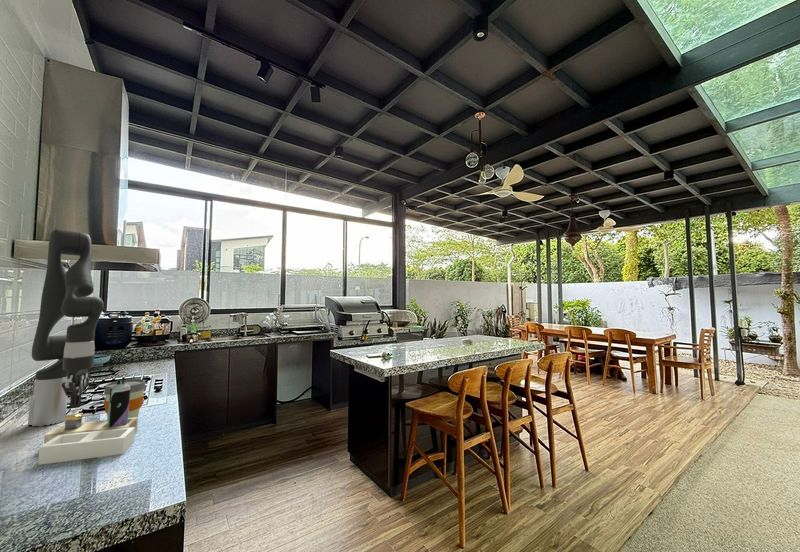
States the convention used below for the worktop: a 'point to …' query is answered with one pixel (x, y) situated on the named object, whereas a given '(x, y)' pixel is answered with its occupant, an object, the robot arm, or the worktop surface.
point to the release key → (73, 421)
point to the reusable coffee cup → (135, 396)
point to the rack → (86, 445)
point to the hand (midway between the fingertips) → (75, 406)
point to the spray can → (119, 404)
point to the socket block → (89, 428)
